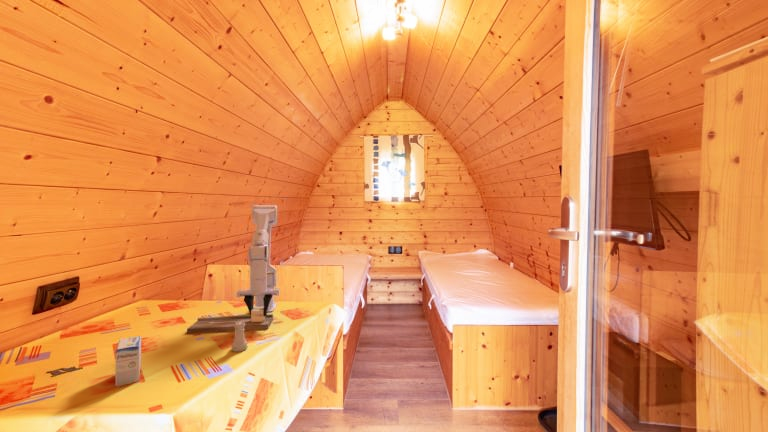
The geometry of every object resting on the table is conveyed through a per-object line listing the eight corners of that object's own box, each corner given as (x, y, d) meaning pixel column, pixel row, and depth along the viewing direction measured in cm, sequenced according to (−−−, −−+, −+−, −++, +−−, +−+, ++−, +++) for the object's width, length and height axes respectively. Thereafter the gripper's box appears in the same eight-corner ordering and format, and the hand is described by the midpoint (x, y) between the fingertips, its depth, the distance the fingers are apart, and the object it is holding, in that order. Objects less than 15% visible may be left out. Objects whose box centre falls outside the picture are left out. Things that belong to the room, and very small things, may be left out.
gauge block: (254, 317, 117) (254, 306, 117) (265, 317, 118) (265, 306, 118) (251, 322, 112) (251, 310, 112) (262, 321, 113) (262, 310, 113)
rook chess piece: (250, 349, 94) (250, 322, 94) (234, 353, 90) (234, 325, 90) (244, 344, 97) (244, 318, 97) (229, 349, 94) (229, 322, 94)
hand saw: (158, 344, 98) (158, 342, 98) (163, 348, 96) (163, 345, 96) (45, 373, 80) (45, 371, 80) (47, 379, 77) (47, 377, 77)
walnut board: (199, 323, 116) (199, 317, 116) (273, 319, 120) (273, 313, 120) (187, 333, 106) (187, 326, 106) (268, 328, 110) (268, 322, 110)
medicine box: (118, 373, 79) (118, 338, 79) (141, 368, 82) (141, 335, 82) (115, 387, 73) (115, 349, 73) (139, 381, 75) (139, 345, 75)
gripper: (234, 281, 110) (234, 320, 110) (277, 279, 112) (277, 318, 112) (239, 277, 117) (239, 314, 117) (280, 276, 119) (280, 312, 119)
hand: (258, 315), depth 115 cm, fingers closed on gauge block, 4 cm apart
